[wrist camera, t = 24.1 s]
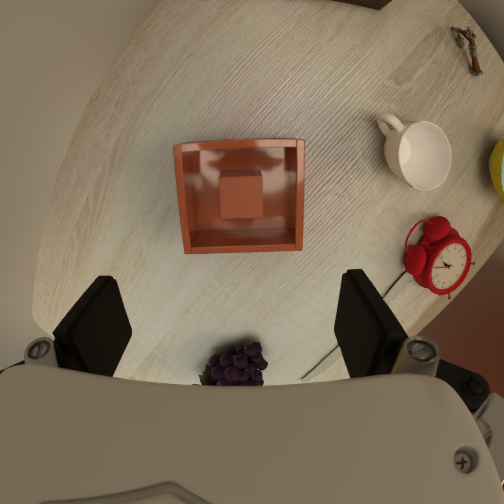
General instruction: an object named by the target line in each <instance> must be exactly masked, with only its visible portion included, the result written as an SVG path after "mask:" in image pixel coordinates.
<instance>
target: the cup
mask: <svg viewBox="0 0 504 504" xmlns="http://www.w3.org/2000/svg"><path fill="white" fill-rule="evenodd" d="M386 122H388V123H389V124H391V125H392V126H393V127H394V129H392V130H390V129H389V127H388V126H387V124H386ZM377 123H378V126H379V128H380V130H381V132H382V133H383V134H384V135H385V137H386V140H385V143H384V156H385V160H386V162H387V164H388V166H389V168H390V170H391V171H392V172H393V173H394V175H395V176H397V177H398V178H399V179H400V180H401V181H403V182H404V183H406V184H408V185H409V186H411V187H414V188H416V189H418V190H422V191H430V190H433V189H436V188H437V187H439V186H440V185H441V184H442V183H443V182H444V181H445V179H446V178H447V176H448V174H449V171H450V168H451V162H452V153H451V147H450V144H449V141H448V139H447V137H446V135H445V134H444V132H443V131H442V130H441V129H440V128H439V127H438V126H437V125H435V124H433V123H431V122H427V121H409V122H405V123H401V122H400V120H399V119H398V118H397V117H395V116H394V115H392V114H390V113H387V112H382V113H380V114H379V115H378V117H377Z"/></svg>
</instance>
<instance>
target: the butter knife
mask: <svg viewBox="0 0 504 504" xmlns="http://www.w3.org/2000/svg"><path fill="white" fill-rule="evenodd" d="M412 276H413V275H411V274H409V273H408V272H406V273H405V274H404V275H403V276H402V277H401V278H400V279H399V280H398V281H397V282H396V284H395V285H394V286H393V287H392V288H391V290H390V291H389V292H388V293H387V294H386V295H385V297H384V298H383V300H384V301H385V302H386V303H387V305H389V304H390V303H391V301H392V300H393V299H394V298H395V297H396V296H397V295H398V294H399V293H400V292H401V291H402V289H403V288H404V287H405V286H406V285H407V284H408V282H409V281H410V280H411V278H412ZM341 355H342V353H341V350H340V347H337V348H336V349H335V350H334V351H333V352H332V353H331V354H330V355H329V356H328V357H326V358H325V359H324V360H323V361H322V362H321V363H320V364H319V365H318V366H317V367H316V368H315V369H314V370H313V371H312V372H310V373H309V374H308V375H307V376H306V377H304V378H303V379H302V382H306V381H308V380H309V379H311V378H313V377H315V376H316V375H318V374H319V373H321V372H323V371H324V370H326V369H327V368H329V367H330V366H331V365H332V364H333V363H334V362H335V361H336V360H337V359H338V358H339V357H340V356H341Z"/></svg>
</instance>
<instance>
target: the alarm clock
mask: <svg viewBox="0 0 504 504" xmlns="http://www.w3.org/2000/svg"><path fill="white" fill-rule="evenodd" d="M421 222H427V223H426V224H425V226H424V234H425V236H424V237H423V239H422V240H421V241H420V243H419V245H414V246H412V247H410V248H409V249H407V241H408V238H409V236H410V234H411V232H412V231H413V230H414V228H415V227H416V226H417V225H418V224H419V223H421ZM405 248H406V251H407V252H406V255H405V258H404V266H405V269H406V271H407V272H408V273H409V274H411V275H413V276H414V278H415V280H416V282H417V283H418V284H419V285H420V286H422V287H424V288H429V289H430V291H431V292H433V293H435V294H438V295H445V294H449V297H448V299H451V297H450V292H452V291H454V290H455V289H456V288H457V287H458V286H459V285H460V284H461V283H462V282H463V280H464V279H465V277H466V275H467V273H468V271H469V268H470V265H471V264H473V265H475V262H473V263H471V249H470V247H469V245H468V243H467V242H466V241H465V240H464V239H463V238H461V237H460V235H459V234H458V232H457V231H456V230H455V229H453V228H452V227H451V226H450V223H449V221H448V220H447V219H446V218H445V217H442V216H437V217H433V218H431V219H430V220H429V221H428V220H420V221H419V222H417V223H416V224H415V225H414V227H413V228H412V229H411V230H410V232H409V234H408V236H407V238H406V241H405Z"/></svg>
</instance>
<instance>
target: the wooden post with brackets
mask: <svg viewBox="0 0 504 504" xmlns="http://www.w3.org/2000/svg"><path fill="white" fill-rule="evenodd" d="M467 29H468V30H466V31H464V30H461V29H460V28H455V27H451V30H452V31H455V32H457V36H458V38H455V39H457V42H458V44H457V45H460V48H463V45H464V42H463V40H464V39H463V38H461V37H460V36H461V35H460V34H459V33H461V34H462V35H463V36H464V37H465V38H466V39H467V40H468V41H469V45H468V46H469V47H470V48H469V50H470V55H471V58H472V70H470V73H472V74H474V75H477V76H480V75H482V74H484V73H483V71H481V70H480V67H479V63H478V60H477V56H478V55H477V49H476V48H477V47H476V46H475V41H474V39H475V38H476V35H475V34H474V31H473V30H472V29H471V28H470V27H467ZM458 34H459V35H458ZM466 35H467V36H466Z"/></svg>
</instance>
